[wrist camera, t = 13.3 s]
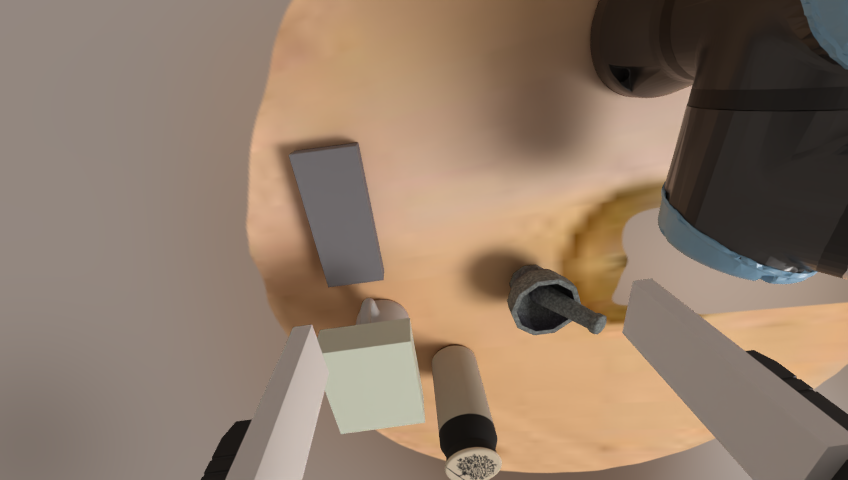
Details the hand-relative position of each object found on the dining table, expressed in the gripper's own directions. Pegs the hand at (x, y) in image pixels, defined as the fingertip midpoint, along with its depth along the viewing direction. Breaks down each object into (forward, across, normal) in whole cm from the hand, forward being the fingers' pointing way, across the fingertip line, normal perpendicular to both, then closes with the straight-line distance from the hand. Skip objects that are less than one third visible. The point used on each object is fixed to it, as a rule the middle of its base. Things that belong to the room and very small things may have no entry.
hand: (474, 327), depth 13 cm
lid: (+21, -10, -23) cm, 33 cm away
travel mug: (+32, +1, -36) cm, 48 cm away
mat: (+32, -12, -6) cm, 34 cm away
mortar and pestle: (+32, +15, -21) cm, 41 cm away
